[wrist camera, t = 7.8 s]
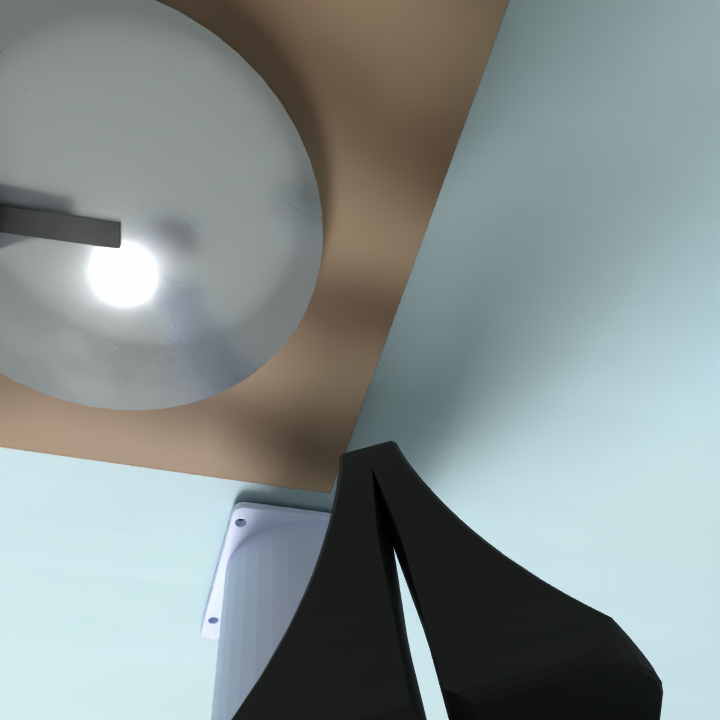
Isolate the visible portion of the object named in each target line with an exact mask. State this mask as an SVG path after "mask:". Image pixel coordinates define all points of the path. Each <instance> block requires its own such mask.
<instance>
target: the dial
mask: <svg viewBox="0 0 720 720" xmlns="http://www.w3.org/2000/svg"><path fill="white" fill-rule="evenodd" d="M322 245H323V223H322V209H321V203H320V197H319V191H318V185H317V182H316V179H315V175H314V172H313V169H312V165H311V162H310V159H309V156H308V154H307V152H306V149H305V147H304V145H303V143H302V140H301V138H300V136H299V133H298V131H297V129H296V127H295V125H294V123H293V122H292V120H291V118H290V117H289V115H288V113H287V111H286V110H285V108H284V106H283V105H282V103H281V101H280V100H279V99H278V97H277V96H276V95H275V94H274V92H273V91H272V90H271V88H270V87H269V86H268V84H267V83H266V82H265V80H264V79H263V78H262V77H261V76H260V75H259V74H258V73H257V71H256V70H255V69H254V68H253V67H252V66H251V65H250V64H249V63H248V62H247V61H246V60H245V59H244V58H243V57H242V56H241V55H240V54H239V53H238V52H236V51H235V50H234V49H233V48H231V47H230V46H229V45H228V44H226V43H225V42H224V41H223V40H222V39H220V38H219V37H218V36H217V35H215V34H214V33H213V32H211V31H210V30H208V29H207V28H205V27H203V26H202V25H200V24H199V23H197V22H195V21H194V20H192V19H191V18H189V17H187V16H186V15H184V14H182V13H181V12H179V11H177V10H175V9H173V8H171V7H169V6H166V5H164V4H162V3H160V2H158V1H156V0H0V373H2V374H3V375H5V376H7V377H9V378H10V379H12V380H14V381H16V382H18V383H20V384H23V385H25V386H27V387H29V388H32V389H34V390H36V391H38V392H41V393H44V394H47V395H50V396H53V397H56V398H59V399H62V400H64V401H69V402H73V403H77V404H82V405H86V406H90V407H98V408H106V409H113V410H153V409H165V408H170V407H175V406H181V405H186V404H190V403H193V402H196V401H200V400H203V399H206V398H209V397H212V396H214V395H216V394H218V393H221V392H223V391H225V390H227V389H230V388H231V387H233V386H235V385H236V384H238V383H240V382H242V381H243V380H245V379H247V378H248V377H250V376H251V375H252V374H254V373H255V372H256V371H257V370H259V369H260V368H261V367H262V366H264V365H265V364H266V363H267V362H268V361H269V360H270V359H271V358H272V357H273V356H274V355H275V354H276V353H277V352H278V351H279V350H280V349H281V348H282V347H283V346H284V344H285V343H286V342H287V340H288V339H289V338H290V336H291V335H292V334H293V332H294V331H295V330H296V328H297V326H298V324H299V322H300V321H301V319H302V317H303V315H304V313H305V312H306V310H307V307H308V305H309V302H310V299H311V297H312V294H313V292H314V289H315V286H316V282H317V277H318V273H319V269H320V265H321V255H322Z"/></svg>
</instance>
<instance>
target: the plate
mask: <svg viewBox="0 0 720 720" xmlns="http://www.w3.org/2000/svg"><path fill="white" fill-rule="evenodd" d="M156 1H158V2H160V3H162V4H164V5H166V6H169V7H171V8H173V9H175V10H177V11H179V12H181V13H182V14H184V15H186V16H187V17H189V18H191V19H192V20H194V21H195V22H197V23H199V24H200V25H202V26H203V27H205V28H207V29H208V30H210V31H211V32H213V33H214V34H215V35H217V36H218V37H219V38H220V39H222V40H223V41H224V42H225V43H226V44H228V45H229V46H230V47H231V48H233V49H234V50H235V51H236V52H238V53H239V54H240V55H241V56H242V57H243V58H244V59H245V60H246V61H247V62H248V63H249V64H250V65H251V66H252V67H253V68H254V69H255V70H256V71H257V73H258V74H259V75H260V76H261V77H262V78H263V79H264V80H265V82H266V83H267V84H268V86H269V87H270V88H271V90H272V91H273V92H274V94H275V95H276V96H277V97H278V99H279V100H280V101H281V103H282V105H283V106H284V108H285V110H286V111H287V113H288V115H289V117H290V118H291V120H292V122H293V123H294V125H295V127H296V129H297V131H298V133H299V136H300V138H301V140H302V143H303V145H304V147H305V149H306V152H307V154H308V156H309V159H310V162H311V165H312V169H313V172H314V175H315V179H316V182H317V185H318V191H319V197H320V203H321V209H322V223H323V245H322V255H321V265H320V269H319V273H318V277H317V282H316V286H315V289H314V292H313V294H312V297H311V299H310V302H309V305H308V307H307V310H306V312H305V313H304V315H303V317H302V319H301V321H300V322H299V324H298V326H297V328H296V330H295V331H294V332H293V334H292V335H291V336H290V338H289V339H288V340H287V342H286V343H285V344H284V346H283V347H282V348H281V349H280V350H279V351H278V352H277V353H276V354H275V355H274V356H273V357H272V358H271V359H270V360H269V361H268V362H267V363H266V364H265V365H264V366H262V367H261V368H260V369H259V370H257V371H256V372H255V373H254V374H252V375H251V376H250V377H248V378H247V379H245V380H243V381H242V382H240V383H238V384H236V385H235V386H233V387H231V388H230V389H227V390H225V391H223V392H221V393H218V394H216V395H214V396H212V397H209V398H206V399H203V400H200V401H196V402H193V403H190V404H186V405H181V406H175V407H170V408H165V409H153V410H113V409H106V408H98V407H90V406H86V405H82V404H77V403H73V402H69V401H64V400H62V399H59V398H56V397H53V396H50V395H47V394H44V393H41V392H38V391H36V390H34V389H32V388H29V387H27V386H25V385H23V384H20V383H18V382H16V381H14V380H12V379H10V378H9V377H7V376H5V375H3V374H2V373H0V447H4V448H11V449H18V450H25V451H32V452H39V453H46V454H53V455H60V456H67V457H74V458H82V459H89V460H96V461H103V462H110V463H117V464H124V465H131V466H138V467H145V468H152V469H159V470H166V471H173V472H181V473H188V474H195V475H202V476H209V477H216V478H223V479H230V480H237V481H244V482H251V483H258V484H265V485H272V486H279V487H287V488H294V489H301V490H308V491H315V492H322V493H329V494H330V493H331V490H332V487H333V485H334V482H335V479H336V476H337V474H338V471H339V458H340V457H341V455H342V454H344V453H345V451H346V449H347V446H348V443H349V440H350V438H351V435H352V432H353V429H354V427H355V424H356V421H357V418H358V416H359V413H360V410H361V407H362V405H363V402H364V399H365V396H366V394H367V391H368V388H369V385H370V383H371V380H372V377H373V374H374V372H375V369H376V366H377V363H378V361H379V358H380V355H381V352H382V350H383V347H384V344H385V341H386V339H387V336H388V333H389V330H390V328H391V325H392V322H393V319H394V317H395V314H396V311H397V308H398V306H399V303H400V300H401V297H402V295H403V292H404V289H405V286H406V284H407V281H408V278H409V275H410V273H411V270H412V267H413V264H414V262H415V259H416V256H417V253H418V251H419V248H420V245H421V242H422V240H423V237H424V234H425V231H426V229H427V226H428V223H429V220H430V218H431V215H432V212H433V209H434V207H435V204H436V201H437V198H438V196H439V193H440V190H441V187H442V185H443V182H444V179H445V176H446V174H447V171H448V168H449V165H450V163H451V160H452V157H453V154H454V152H455V149H456V146H457V143H458V141H459V138H460V135H461V132H462V130H463V127H464V124H465V121H466V119H467V116H468V113H469V110H470V108H471V105H472V102H473V99H474V97H475V94H476V91H477V88H478V85H479V83H480V80H481V77H482V74H483V72H484V69H485V66H486V63H487V61H488V58H489V55H490V52H491V50H492V47H493V44H494V41H495V39H496V36H497V33H498V30H499V28H500V25H501V22H502V19H503V17H504V14H505V11H506V8H507V6H508V3H509V0H156Z"/></svg>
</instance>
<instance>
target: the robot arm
mask: <svg viewBox="0 0 720 720" xmlns="http://www.w3.org/2000/svg"><path fill="white" fill-rule="evenodd" d="M238 519H244V520H243V521H239V520H238ZM393 547H394V548H393ZM394 550H395V552H396V555H397V558H398V561H399V563H400V566H401V569H402V572H403V574H404V577H405V580H406V583H407V585H408V588H409V591H410V594H411V596H412V599H413V602H414V605H415V607H416V610H417V613H418V616H419V618H420V621H421V624H422V627H423V629H424V632H425V635H426V639H427V642H428V645H429V648H430V651H431V655H432V659H433V663H434V666H435V670H436V674H437V677H438V681H439V685H440V688H441V692H442V696H443V699H444V703H445V707H446V711H447V714H448V718H449V720H660V714H661V706H662V697H663V689H662V682H661V680H660V679H659V677H658V676H657V674H656V672H655V670H654V668H653V667H652V665H651V664H650V662H649V661H648V660H647V658H646V657H645V656H644V655H643V653H642V652H641V651H640V650H639V648H638V647H637V646H636V645H635V643H634V642H633V641H632V640H631V639H630V637H629V636H628V635H627V634H626V633H625V632H624V631H623V630H622V628H621V627H620V626H619V625H618V624H617V623H616V622H615V621H614V620H613V619H612V618H611V617H609V616H607V615H605V614H603V613H601V612H599V611H597V610H595V609H593V608H591V607H589V606H587V605H585V604H583V603H582V602H580V601H578V600H576V599H574V598H572V597H570V596H569V595H567V594H565V593H563V592H562V591H560V590H558V589H556V588H555V587H553V586H551V585H550V584H548V583H546V582H545V581H543V580H541V579H540V578H538V577H537V576H535V575H534V574H532V573H531V572H529V571H528V570H526V569H525V568H523V567H522V566H520V565H519V564H517V563H515V562H514V561H512V560H511V559H509V558H508V557H507V556H505V555H504V554H502V553H501V552H500V551H498V550H497V549H496V548H494V547H493V546H492V545H491V544H489V543H488V542H487V541H485V540H484V539H483V538H482V537H480V536H479V535H478V534H477V533H476V532H474V531H473V530H472V529H471V528H470V527H469V526H467V525H466V524H465V523H464V522H463V521H462V520H461V519H460V518H458V517H457V516H456V515H455V514H454V513H453V512H452V511H451V510H450V509H449V508H448V507H447V506H446V505H445V504H444V503H443V502H442V501H441V500H440V499H439V498H438V497H437V496H436V495H435V494H434V492H433V491H432V490H431V489H430V488H429V487H428V486H427V485H426V484H425V482H424V481H423V480H422V479H421V478H420V477H419V475H418V474H417V473H416V472H415V470H414V469H413V468H412V467H411V465H410V464H409V463H408V461H407V460H406V458H405V457H404V455H403V454H402V452H401V451H400V449H399V447H398V445H397V443H395V442H393V441H389V442H385V443H381V444H378V445H374V446H370V447H366V448H363V449H359V450H355V451H351V452H348V453H344V454H342V455H341V457H340V458H339V474H338V481H337V488H336V493H335V499H334V503H333V507H332V512H331V513H326V512H318V511H311V510H303V509H296V508H288V507H280V506H273V505H265V504H258V503H250V502H240V503H237V504H236V505H234V507H233V509H232V513H231V516H230V520H229V524H228V528H227V531H226V535H225V539H224V542H223V546H222V550H221V554H220V557H219V561H218V565H217V569H216V572H215V576H214V580H213V584H212V587H211V591H210V595H209V599H208V602H207V606H206V610H205V613H204V617H203V621H202V625H201V631H200V633H201V635H202V636H203V637H205V638H213V639H219V642H218V653H217V663H216V674H215V684H214V695H213V705H212V716H211V720H427V719H426V715H425V711H424V707H423V703H422V699H421V694H420V690H419V686H418V682H417V678H416V674H415V670H414V666H413V662H412V657H411V653H410V648H409V643H408V638H407V632H406V626H405V619H404V613H403V606H402V600H401V593H400V587H399V580H398V574H397V567H396V561H395V554H394Z"/></svg>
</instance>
